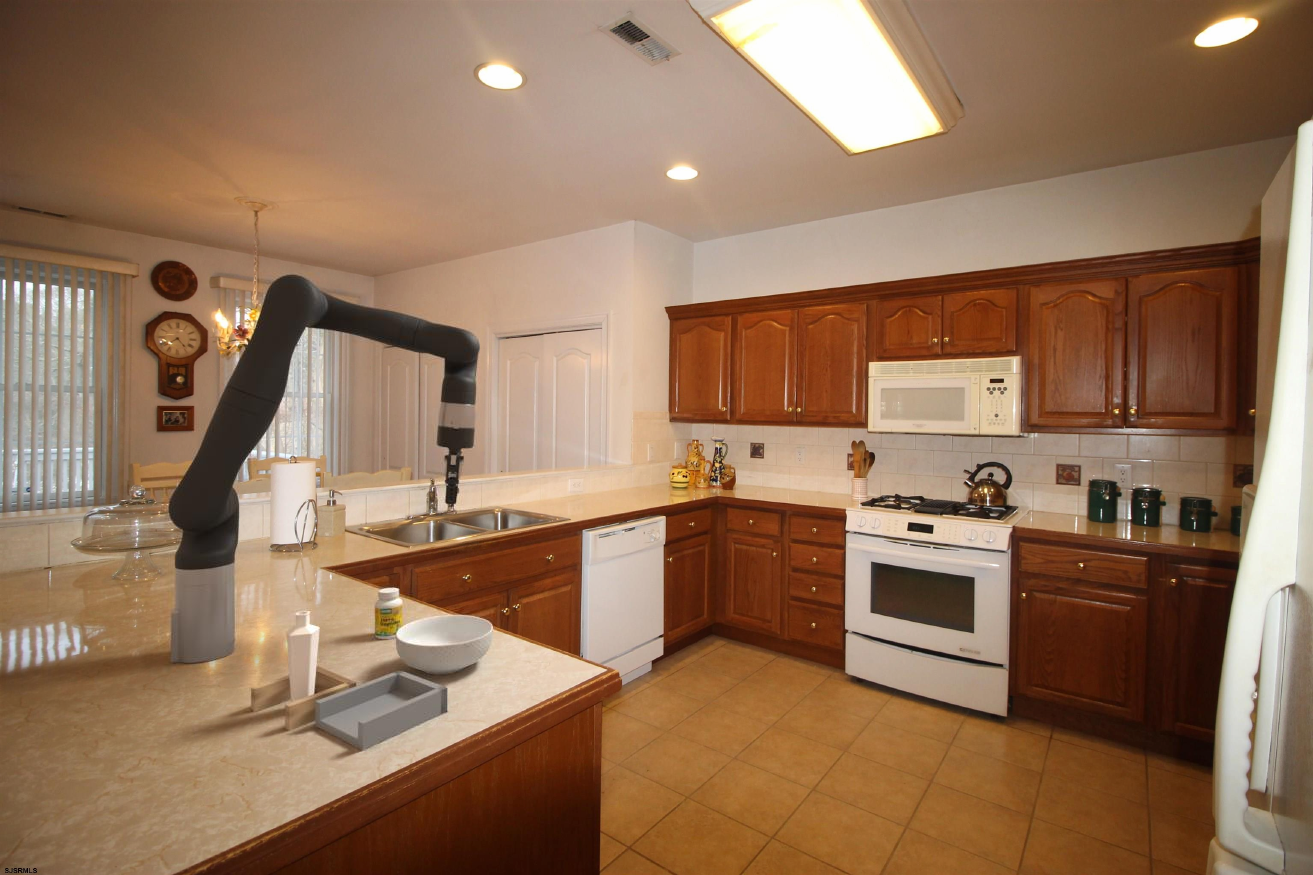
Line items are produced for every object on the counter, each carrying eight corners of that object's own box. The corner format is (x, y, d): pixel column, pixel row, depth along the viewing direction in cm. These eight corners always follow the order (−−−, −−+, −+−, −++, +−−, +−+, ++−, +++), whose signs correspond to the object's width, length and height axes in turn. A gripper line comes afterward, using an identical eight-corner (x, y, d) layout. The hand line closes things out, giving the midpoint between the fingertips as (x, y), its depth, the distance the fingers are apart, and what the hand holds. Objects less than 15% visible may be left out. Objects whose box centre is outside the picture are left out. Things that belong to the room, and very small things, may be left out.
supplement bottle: (399, 629, 134) (399, 585, 134) (404, 636, 130) (405, 591, 129) (372, 633, 131) (372, 588, 131) (376, 641, 127) (377, 594, 126)
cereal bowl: (399, 692, 103) (400, 650, 103) (391, 658, 118) (391, 621, 118) (502, 674, 111) (502, 635, 111) (482, 644, 126) (482, 609, 126)
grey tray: (362, 750, 85) (363, 723, 85) (315, 725, 92) (315, 700, 92) (447, 711, 97) (447, 687, 97) (399, 692, 103) (399, 670, 103)
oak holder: (289, 730, 90) (289, 706, 90) (251, 709, 96) (251, 687, 96) (356, 703, 99) (356, 682, 99) (317, 686, 105) (317, 665, 105)
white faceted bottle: (293, 701, 99) (293, 608, 99) (322, 701, 100) (322, 608, 99) (278, 715, 95) (278, 617, 94) (308, 714, 95) (309, 617, 95)
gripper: (439, 422, 138) (434, 494, 138) (436, 425, 124) (430, 505, 125) (474, 424, 140) (469, 496, 141) (475, 427, 126) (469, 506, 127)
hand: (451, 500), depth 133 cm, fingers open, 8 cm apart
